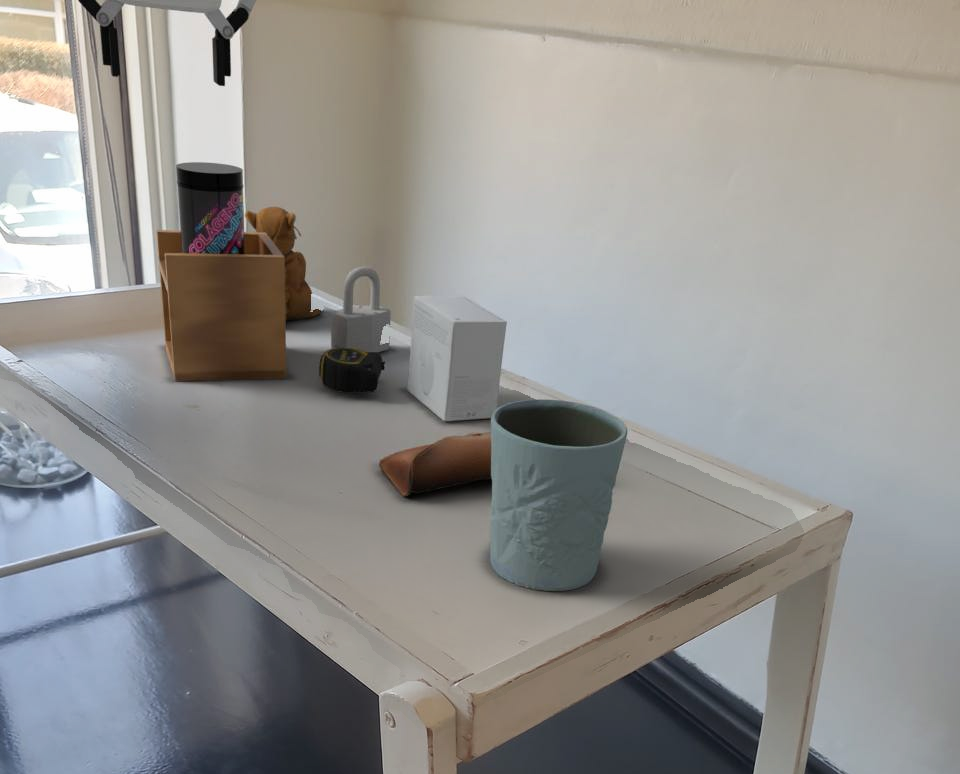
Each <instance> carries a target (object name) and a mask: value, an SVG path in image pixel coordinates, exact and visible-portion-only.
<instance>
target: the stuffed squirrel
mask: <svg viewBox="0 0 960 774" xmlns="http://www.w3.org/2000/svg"><path fill="white" fill-rule="evenodd" d="M244 219H246V220H247V222H248V223H249V224H250V226H251V227H252V228H253V229H254V230H255V232H262V233H266V234H267V235H268V236H269V238H270V239H271V240H272V241H273V243H274V244H275V245H276V247H277V248H278V249H279V251H280V252H281V253H282V255H283V256H284V258H285V322H287V321H293V320H296V321H297V320H303V319H311V318H314V317H317V316H318V315H320V314H321V313H322V312H323V311H321V310H319V309H315V310H313V312H310V311H311V294H313V292H312V289H311V287H310V285H309V283H308V282H307V281H306V273H307V261H306V258H305V256H304V254H303V253H302V252H301V251H294V250H293V248H294V247H295V242H296V240H297V239H298V238H297V235H296V232H295V230H296V231H297V233H298V235H299V237H302V234H301V233H300V231H299V229H298V228H297V227H296V226H295V222H296V221H297V215H296V214H295V213H294V212H289V211H287V210H286V209H284V208H283V207H279V206H268V207H265V208H262V209H260V210H258V212H257V213H256V212H253V211H251V210H246V211H245V212H244Z"/></svg>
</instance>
